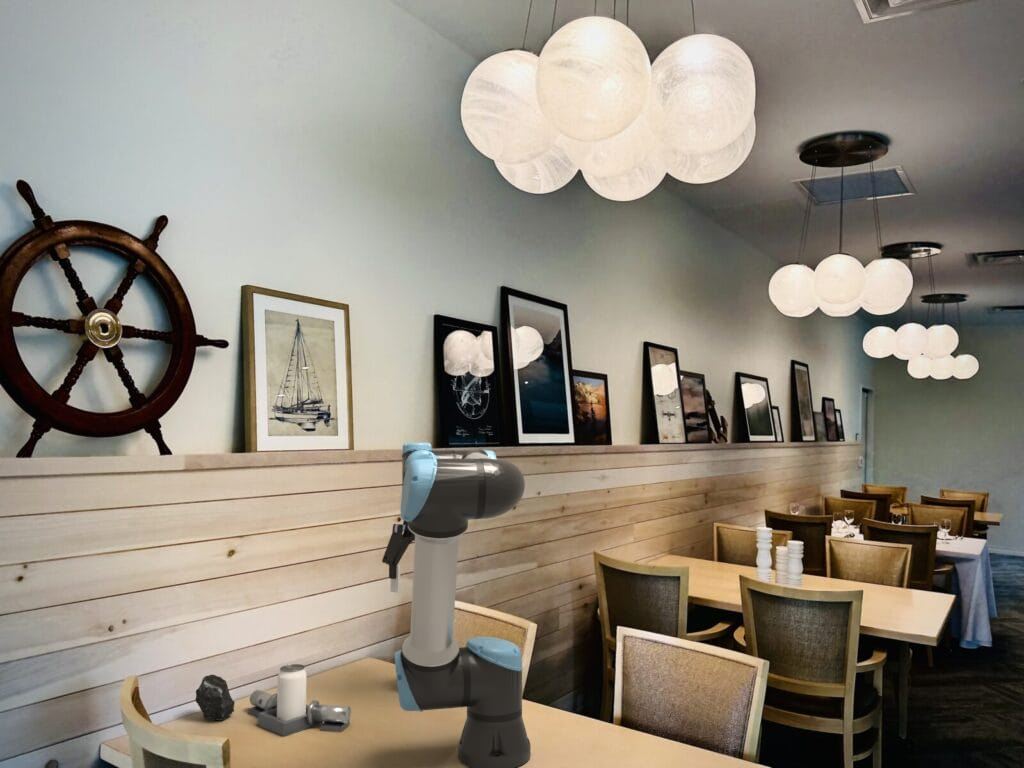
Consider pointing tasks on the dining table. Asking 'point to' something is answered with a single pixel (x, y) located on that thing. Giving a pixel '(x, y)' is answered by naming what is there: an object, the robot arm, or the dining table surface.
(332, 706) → the shaft
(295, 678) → the can
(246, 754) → the dining table surface
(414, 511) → the robot arm
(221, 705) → the rock
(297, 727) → the socket
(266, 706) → the shaft
